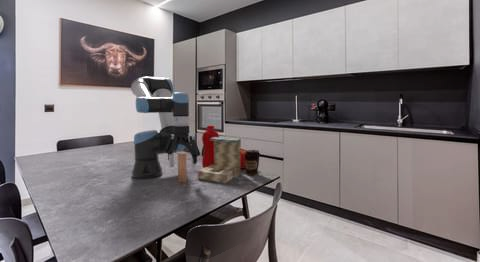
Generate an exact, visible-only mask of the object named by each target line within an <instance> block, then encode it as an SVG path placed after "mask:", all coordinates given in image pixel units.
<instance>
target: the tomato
mask: <svg viewBox="0 0 480 262" xmlns="http://www.w3.org/2000/svg"><path fill="white" fill-rule="evenodd" d="M246 151H247V150H245V149H242V150H241V169H246V167H245V153H246Z"/></svg>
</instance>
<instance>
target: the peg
mask: <svg viewBox="0 0 480 262" xmlns="http://www.w3.org/2000/svg"><path fill="white" fill-rule="evenodd" d="M187 173H188V172H187V152H183V151H182V152H177V176H178V177H177V180H178V183H186V182H187V181H188V179H187V178H188V177H187Z"/></svg>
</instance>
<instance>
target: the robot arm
mask: <svg viewBox="0 0 480 262" xmlns="http://www.w3.org/2000/svg"><path fill="white" fill-rule="evenodd" d="M130 90H131V92H132V94H133V95H134V96H135V97H136V99H135V109H136V113H140V114H143V113H144V114H151V113H152V114H154V113H156V114H157V113H158V117H159V118H158V119H159V122H160V127H161V128H160V130H159V132H158V130H155V129H153V130H151V129H150V130H145V131H140V132H139V131H138V133H135V134H134V136H133V145H134V164H133V168H132V171H131V177H132V178H134V179H144V180H145V179H151V178H156V177H158V176H161V175H162V174H163V169H162V166H161V163H160V161H159V155H163V154H164V155H165V154H167V158H168V159H167V160H168V168H173V167H175V154H174V153H176V154H178V153H181V152H183V151H184V150H185V149H187V151H188V152H189V154H190V155H191V157H190V170H191V172H193V171H196V170H197V164H198V157H199V156H201V152H200V149H199V146H198V144H197V142H196V140H195V138H196V136H195V135H191V136H190V126H189V124H190V106H189V105H190V104H189V102H190V99H189V93H188V92H174V84H173V82H172V80H171V79H170V78H168V77H163V76H162V77H160V76H159V77H158V76H157V77H156V76H141V77H138V78H136V79H135V80H133V81H132V83H131V84H130Z"/></svg>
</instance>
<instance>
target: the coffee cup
mask: <svg viewBox="0 0 480 262" xmlns="http://www.w3.org/2000/svg"><path fill="white" fill-rule="evenodd" d="M260 156H261V152H260V151H259V150H257V149H249V150H246V153H245V167H246V168H245V175H247V176H258V175H259V173H258V172H259V171H258V170H259V165H260Z"/></svg>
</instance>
